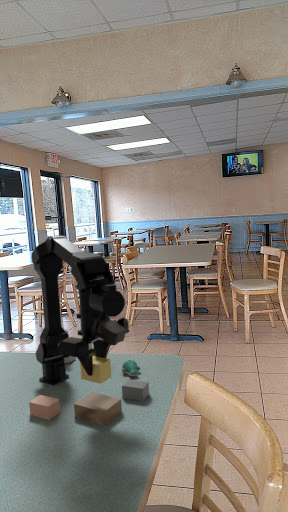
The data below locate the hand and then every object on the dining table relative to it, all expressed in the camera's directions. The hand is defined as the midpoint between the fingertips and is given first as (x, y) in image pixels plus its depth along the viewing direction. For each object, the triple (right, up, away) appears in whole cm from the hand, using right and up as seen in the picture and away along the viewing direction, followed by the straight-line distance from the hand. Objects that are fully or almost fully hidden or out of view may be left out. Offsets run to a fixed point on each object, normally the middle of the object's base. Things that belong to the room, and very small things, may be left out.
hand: (95, 372), depth 93 cm
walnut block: (+1, -11, +1) cm, 11 cm away
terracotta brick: (-13, -11, +2) cm, 17 cm away
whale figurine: (+8, -8, +24) cm, 27 cm away
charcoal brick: (+9, -9, +9) cm, 16 cm away
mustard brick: (0, -2, 0) cm, 2 cm away
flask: (-15, -8, +38) cm, 42 cm away
